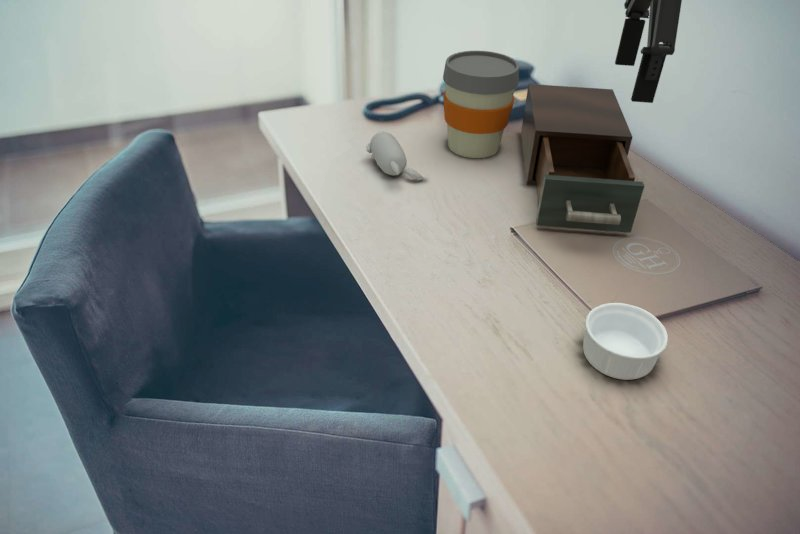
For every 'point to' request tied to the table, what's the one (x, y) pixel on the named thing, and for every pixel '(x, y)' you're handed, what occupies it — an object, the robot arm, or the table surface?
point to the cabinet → (570, 118)
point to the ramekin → (623, 340)
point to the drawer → (585, 184)
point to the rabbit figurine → (390, 155)
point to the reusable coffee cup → (478, 100)
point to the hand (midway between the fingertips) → (632, 82)
